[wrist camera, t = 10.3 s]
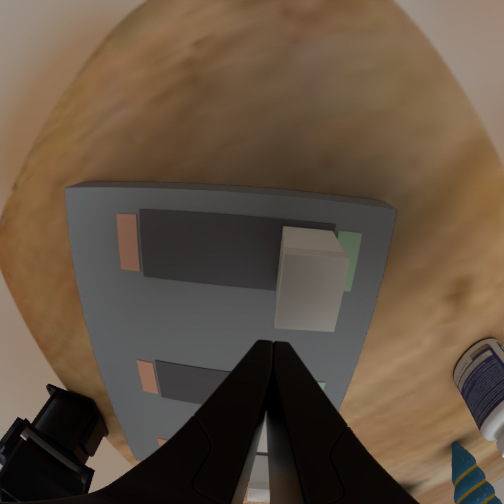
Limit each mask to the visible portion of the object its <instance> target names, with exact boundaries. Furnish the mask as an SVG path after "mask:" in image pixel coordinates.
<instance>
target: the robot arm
mask: <svg viewBox="0 0 504 504" xmlns="http://www.w3.org/2000/svg"><path fill="white" fill-rule="evenodd" d="M46 388H47V390H48V392H49V394H50V396H51V397H50V398H49V399H48V401H47V402H46V404H45V405H44V406H43V408H42V409H41V411H40V412H39V413H38V415H37V416H36V418H35V419H34V421H33V422H32V423H30V422H29V421H28V420H27V419H26V418H25V419H24V420H23V419H21V418H19V417H18V418H17V419H16V420H15V422H14V423H13V424H12V426H11V427H10V428H9V430H8V431H7V433H6V434H5V435H4V436H3V438H2V439H1V441H0V464H1V465H3V466H2V468H1V469H0V504H243V501H244V497H245V494H246V490H247V486H248V483H249V479H250V475H251V472H252V468H253V464H254V460H255V457H256V453H257V449H258V445H259V441H260V437H261V433H262V429H263V425H264V420H265V415H266V432H267V452H268V471H269V491H270V504H420V503H418V502H417V501H416V500H415V499H414V498H413V497H412V496H411V495H410V494H409V493H408V492H407V491H406V490H405V489H404V488H403V487H402V486H401V485H400V484H399V483H398V482H397V481H396V480H394V479H393V478H392V476H391V475H390V474H389V473H388V472H387V471H386V470H385V469H384V468H383V467H382V466H381V465H380V464H379V463H378V462H377V461H376V460H375V459H374V458H373V457H372V455H371V454H370V453H369V452H368V451H367V450H366V448H365V447H364V446H363V445H362V443H361V442H360V441H359V439H358V438H357V437H356V435H355V434H354V433H353V431H352V430H351V428H350V427H347V426H348V425H347V423H346V422H345V420H344V419H343V418H342V416H341V415H340V413H339V412H338V411H337V409H336V408H335V406H334V405H333V404H332V402H331V401H330V399H329V398H328V397H327V395H326V394H325V392H324V391H323V390H322V388H321V387H320V385H319V384H318V383H317V381H316V380H315V378H314V377H313V375H312V374H311V373H310V371H309V370H308V368H307V367H306V365H305V364H304V363H303V361H302V360H301V358H300V357H299V355H298V354H297V353H296V351H295V350H294V348H293V347H292V345H291V344H290V343H289V342H286V341H274V343H273V341H271V340H262V339H259V340H257V341H256V342H255V343H254V345H253V346H252V347H251V348H250V349H249V351H248V352H247V353H246V354H245V355H244V357H243V358H242V359H241V360H240V361H239V363H238V364H237V365H236V366H235V367H234V369H233V370H232V371H231V372H230V373H229V374H228V376H227V377H226V378H225V379H224V380H223V381H222V383H221V384H220V385H219V386H218V387H217V388H216V390H215V391H214V392H213V393H212V394H211V395H210V396H209V398H208V399H207V400H206V401H205V402H204V403H203V404H202V405H201V407H200V408H199V409H198V410H197V411H196V412H195V413H194V416H191V417H190V419H189V420H188V421H187V422H186V423H185V424H184V425H183V426H182V427H181V428H180V429H179V430H178V431H177V432H176V433H175V434H174V435H173V436H172V437H171V438H170V439H169V440H168V441H167V442H165V443H164V444H163V445H162V446H161V447H160V448H158V449H157V450H156V451H155V452H153V453H152V454H151V455H150V456H148V457H147V458H146V459H144V460H143V461H142V462H140V463H139V464H138V465H136V466H135V467H134V468H132V469H131V470H129V471H128V472H127V473H125V474H124V475H123V476H121V477H120V478H118V479H117V480H115V481H114V482H112V483H111V484H109V485H108V486H106V487H104V488H102V489H100V490H97V491H95V492H92V493H89V494H88V491H89V488H90V485H91V481H92V478H93V475H94V472H95V470H93V469H92V468H89V467H87V466H86V465H85V463H86V462H87V460H88V458H89V456H91V457H93V456H94V454H95V452H96V450H97V448H98V446H99V444H100V442H101V440H102V438H103V436H105V437H107V436H108V434H109V433H108V431H107V429H106V427H105V425H104V423H103V421H102V418H101V416H100V414H99V412H98V410H97V407H96V405H95V403H94V402H93V401H92V400H91V399H88V398H85V397H82V396H80V395H77V394H74V393H72V392H69V391H66V390H64V389H61V388H58V387H56V386H54V385H51V384H48V385H47V386H46ZM21 434H22V435H23V436H24V437H25V438H26V440H24V439H23V438H22V437H21V436H20V435H21Z"/></svg>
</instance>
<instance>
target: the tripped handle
mask: <svg viewBox="0 0 504 504" xmlns="http://www.w3.org/2000/svg"><path fill="white" fill-rule="evenodd" d="M349 263H350V257H349V255H348V254H347V253H345V252H344V250H343V248H342V247H341V245H340V243H339V241H338V240H337V238H336V236H335V234H334V233H333V231H328V230H319V229H308V228H298V227H287V226H283V230H282V240H281V250H280V259H279V269H278V278H277V287H276V312H275V322H274V328H280V329H293V330H308V331H325V332H334V330H335V326H336V322H337V318H338V314H339V309H340V305H341V301H342V296H343V292H344V287H345V282H346V278H347V273H348V268H349Z"/></svg>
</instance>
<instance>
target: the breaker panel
mask: <svg viewBox="0 0 504 504" xmlns="http://www.w3.org/2000/svg"><path fill="white" fill-rule="evenodd" d="M65 200H66V212H67V222H68V230H69V238H70V246H71V253H72V259H73V265H74V271H75V276H76V282H77V287H78V292H79V296H80V301H81V305H82V310H83V314H84V318H85V322H86V326H87V330H88V334H89V337H90V341H91V344H92V348H93V351H94V355H95V358H96V361H97V364H98V367H99V371H100V374H101V377H102V379H103V382H104V385H105V388H106V391H107V394H108V396H109V399H110V402H111V404H112V407H113V409H114V412H115V414H116V417H117V419H118V422H119V424H120V426H121V429H122V431H123V433H124V436H125V438H126V440H127V442H128V444H129V447H130V449H131V451H132V453H133V455H134V457H135V459H136V460H139V461H143V460H144V459H146V458H147V457H148V456H150V455H151V454H152V453H153V452H155V451H156V450H157V449H158V448H160V447H161V446H162V445H163V444H164V443H165V442H167V441H168V440H169V439H170V438H171V437H172V436H173V435H174V434H175V433H176V432H177V431H178V430H179V429H180V428H181V427H182V426H183V425H184V424H185V423H186V422H187V421H188V420H189V419H190V417H191V416H194V413H195V412H196V411H197V410H198V409H199V408H200V407H201V405H202V404H203V403H204V402H205V401H206V400H207V399H208V398H209V396H210V395H211V394H212V393H213V392H214V391H215V390H216V388H217V387H218V386H219V385H220V384H221V383H222V381H223V380H224V379H225V378H226V377H227V376H228V374H229V373H230V372H231V371H232V370H233V369H234V367H235V366H236V365H237V364H238V363H239V361H240V360H241V359H242V358H243V357H244V355H245V354H246V353H247V352H248V351H249V349H250V348H251V347H252V346H253V345H254V343H255V342H256V341H257V340H259V339H262V340H271V341H273V343H274V341H286V342H289V343H290V344H291V345H292V347H293V348H294V350H295V351H296V353H297V354H298V355H299V357H300V358H301V360H302V361H303V363H304V364H305V365H306V367H307V368H308V370H309V371H310V373H311V374H312V375H313V377H314V378H315V380H316V381H317V383H318V384H319V385H320V387H321V388H322V390H323V391H324V392H325V394H326V395H327V397H328V398H329V399H330V401H331V402H332V404H333V405H334V406H335V408H336V409H337V411H339V409H340V406H341V404H342V401H343V399H344V396H345V394H346V391H347V389H348V386H349V384H350V381H351V378H352V376H353V373H354V370H355V367H356V365H357V362H358V359H359V356H360V353H361V350H362V347H363V344H364V341H365V338H366V335H367V332H368V328H369V325H370V322H371V319H372V315H373V312H374V308H375V305H376V301H377V298H378V294H379V290H380V286H381V282H382V278H383V274H384V270H385V266H386V262H387V258H388V253H389V249H390V244H391V239H392V234H393V229H394V224H395V219H396V213H397V209H395V208H394V207H392V206H391V205H389V204H388V203H386V202H384V201H378V200H371V199H364V198H357V197H349V196H341V195H333V194H324V193H315V192H305V191H295V190H285V189H274V188H262V187H249V186H234V185H218V184H199V183H173V182H81V183H78V184H75V185H72V186H69V187H65ZM283 226H287V227H298V228H308V229H319V230H328V231H333V233H334V234H335V236H336V238H337V240H338V241H339V243H340V245H341V247H342V248H343V250H344V252H345V253H347V254H348V255H349V257H350V263H349V268H348V273H347V278H346V282H345V287H344V292H343V296H342V301H341V305H340V309H339V314H338V318H337V322H336V326H335V330H334V332H325V331H308V330H293V329H280V328H274V322H275V312H276V287H277V278H278V269H279V259H280V250H281V240H282V230H283ZM256 455H261V456H268V452H257V453H256ZM249 481H250V479H249Z"/></svg>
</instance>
